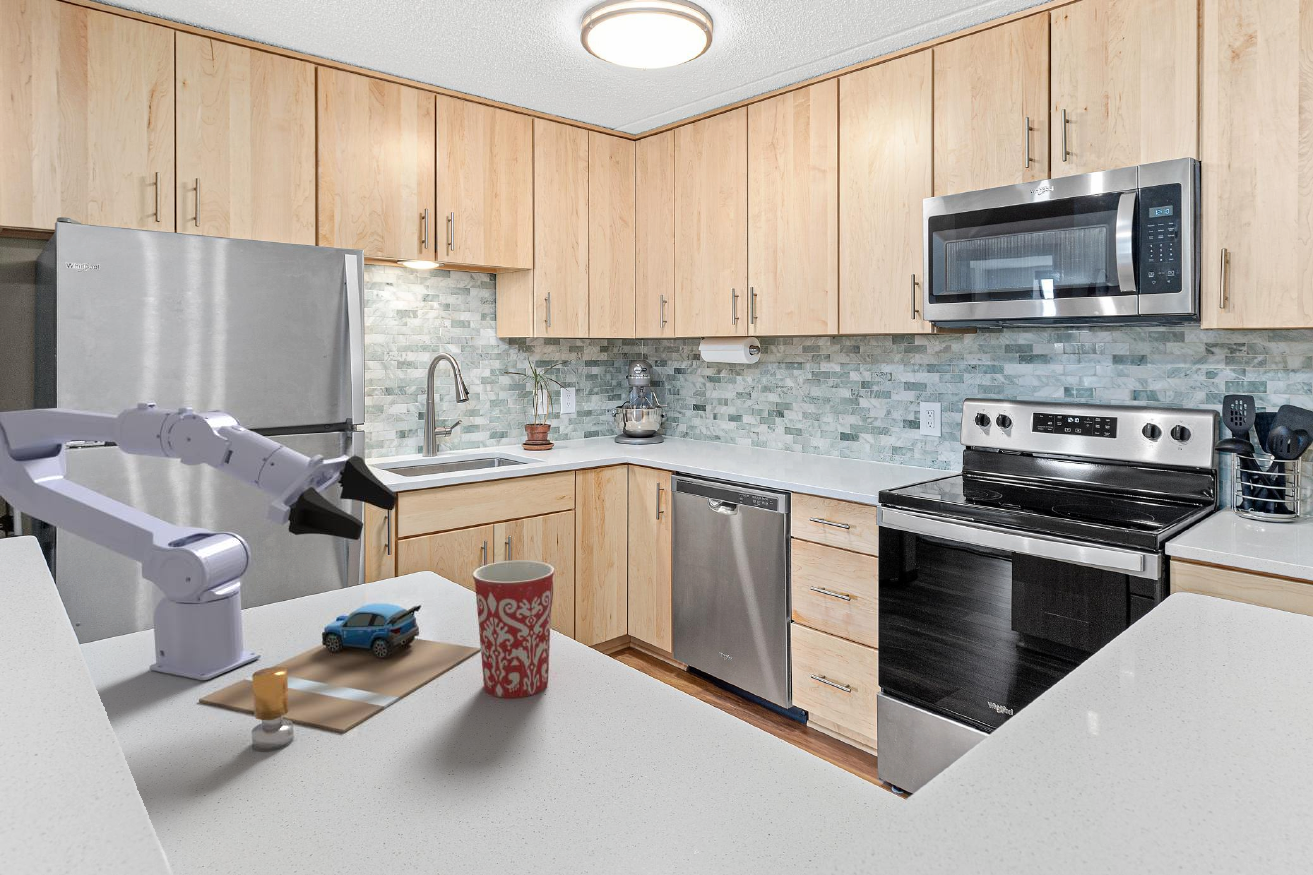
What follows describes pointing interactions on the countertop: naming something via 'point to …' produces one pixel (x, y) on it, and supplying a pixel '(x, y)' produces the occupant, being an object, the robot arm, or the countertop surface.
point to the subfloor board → (349, 682)
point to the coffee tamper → (271, 710)
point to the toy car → (373, 629)
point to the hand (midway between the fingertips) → (378, 517)
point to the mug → (514, 626)
